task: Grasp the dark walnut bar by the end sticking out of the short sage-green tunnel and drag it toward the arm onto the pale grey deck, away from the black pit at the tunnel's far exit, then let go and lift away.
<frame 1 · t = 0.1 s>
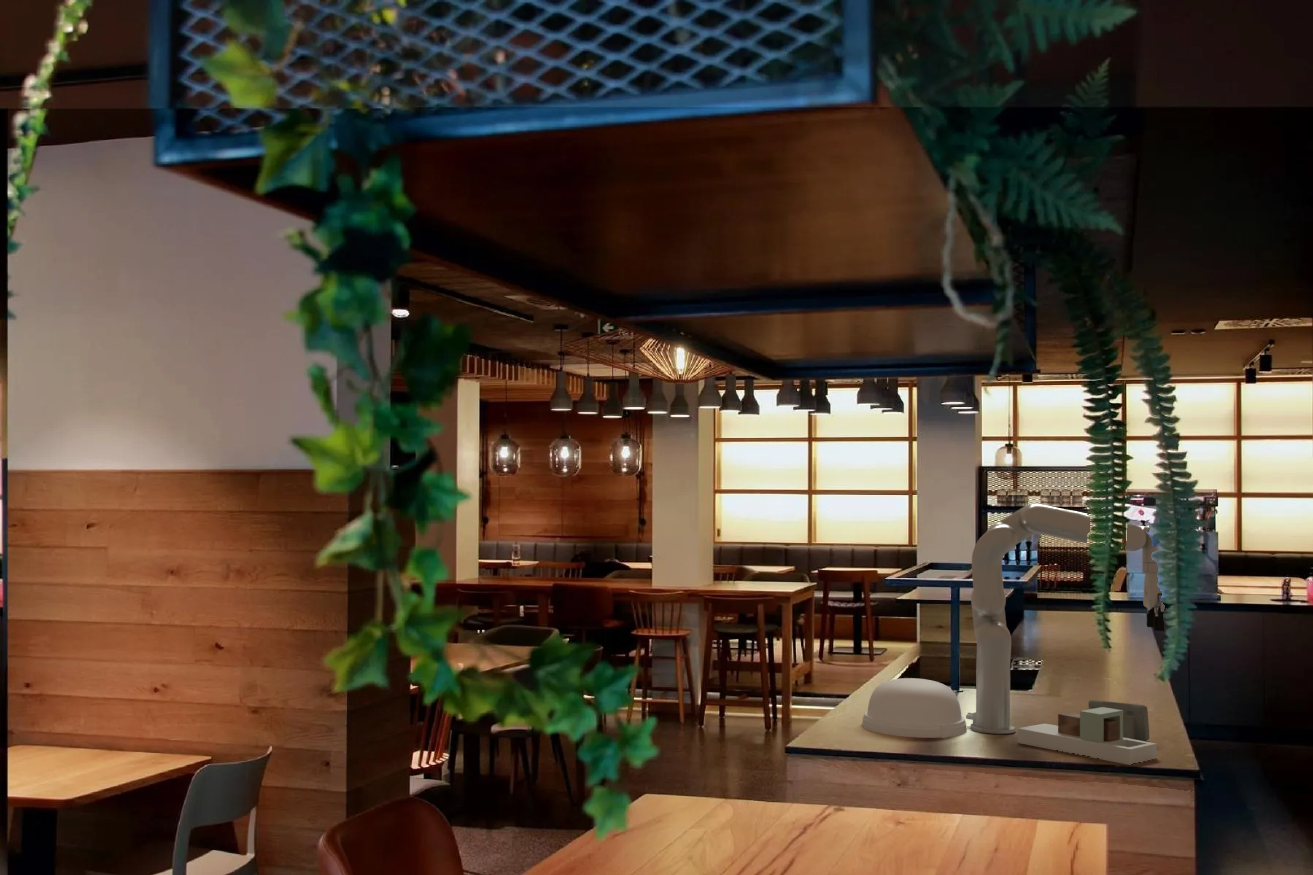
hand: (1156, 628, 353), 31 cm above the counter, tool pointing down, fingers open, 9 cm apart
dome cover: (914, 728, 363), on the counter
tunnel: (1101, 753, 330), resting on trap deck
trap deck: (1085, 750, 334), on the counter
digital clock: (1118, 739, 351), on the counter
walnut bar: (1087, 736, 334), point 4 cm above the counter, touching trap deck
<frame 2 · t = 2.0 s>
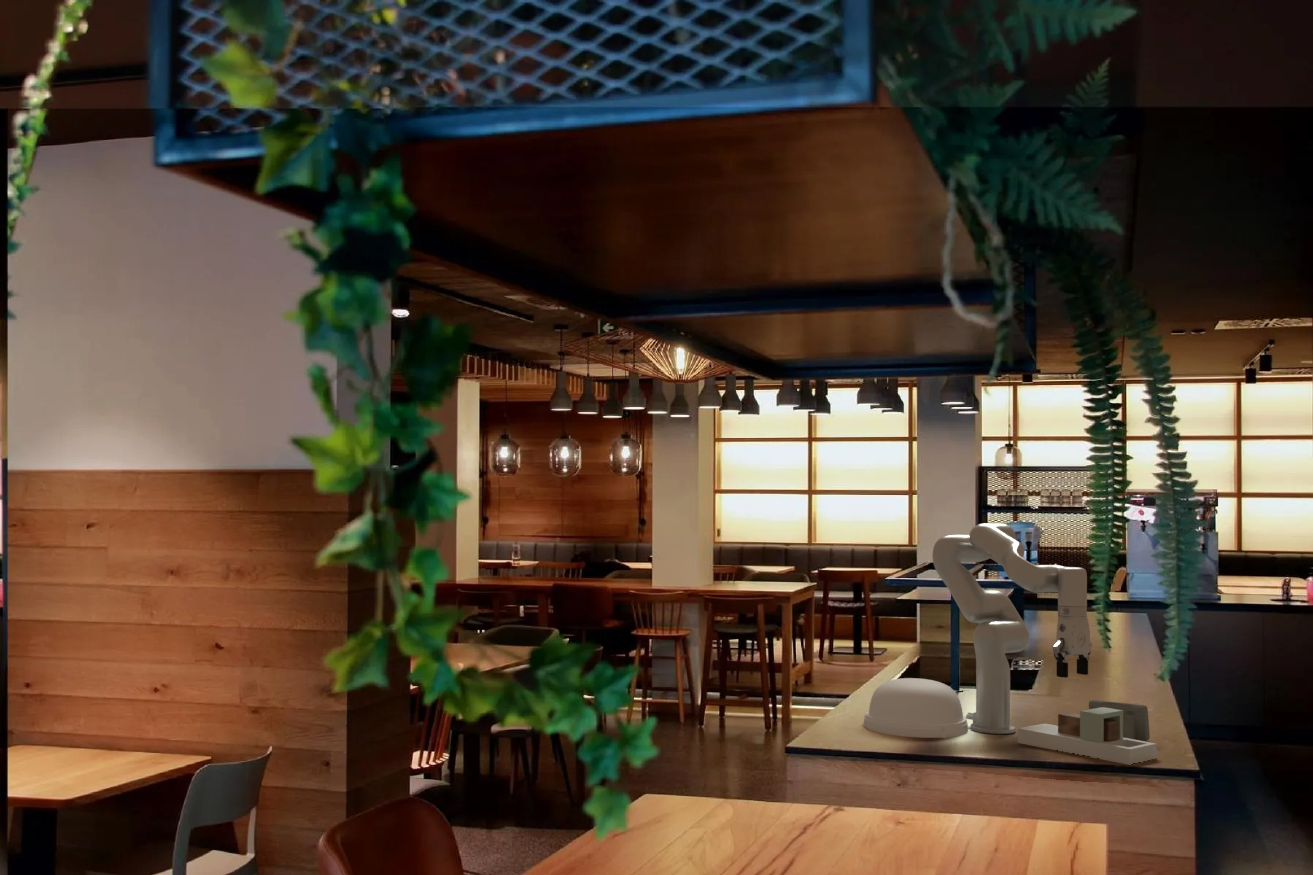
hand: (1072, 675, 338), 20 cm above the counter, tool pointing down, fingers open, 9 cm apart
nothing on the counter moved.
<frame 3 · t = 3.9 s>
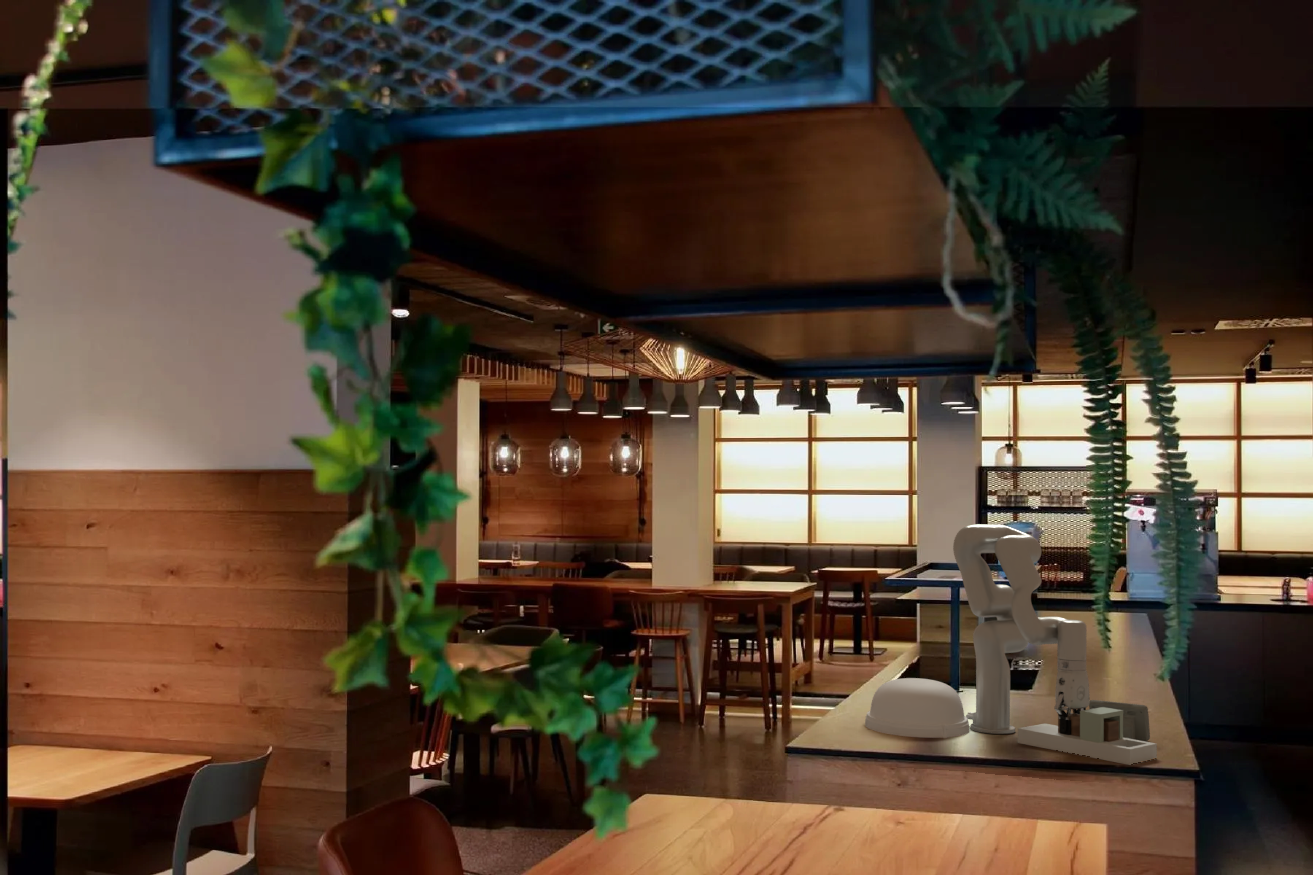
hand: (1071, 732, 337), 4 cm above the counter, tool pointing down, fingers closed on walnut bar, 5 cm apart
walnut bar: (1087, 736, 334), point 4 cm above the counter, touching gripper, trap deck
everything else where it was.
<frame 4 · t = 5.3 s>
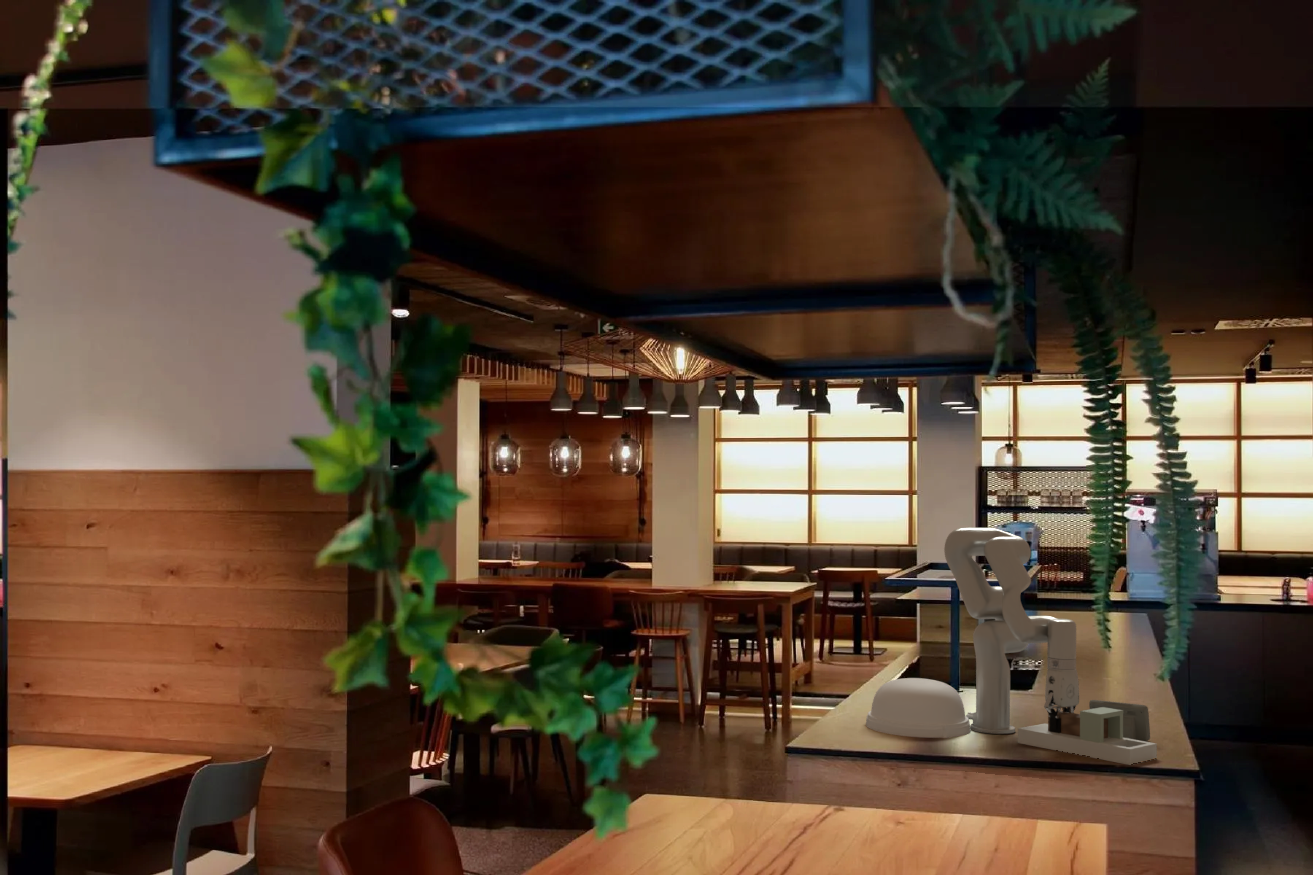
hand: (1061, 730, 340), 4 cm above the counter, tool pointing down, fingers closed on walnut bar, 5 cm apart
walnut bar: (1077, 734, 336), point 4 cm above the counter, touching gripper
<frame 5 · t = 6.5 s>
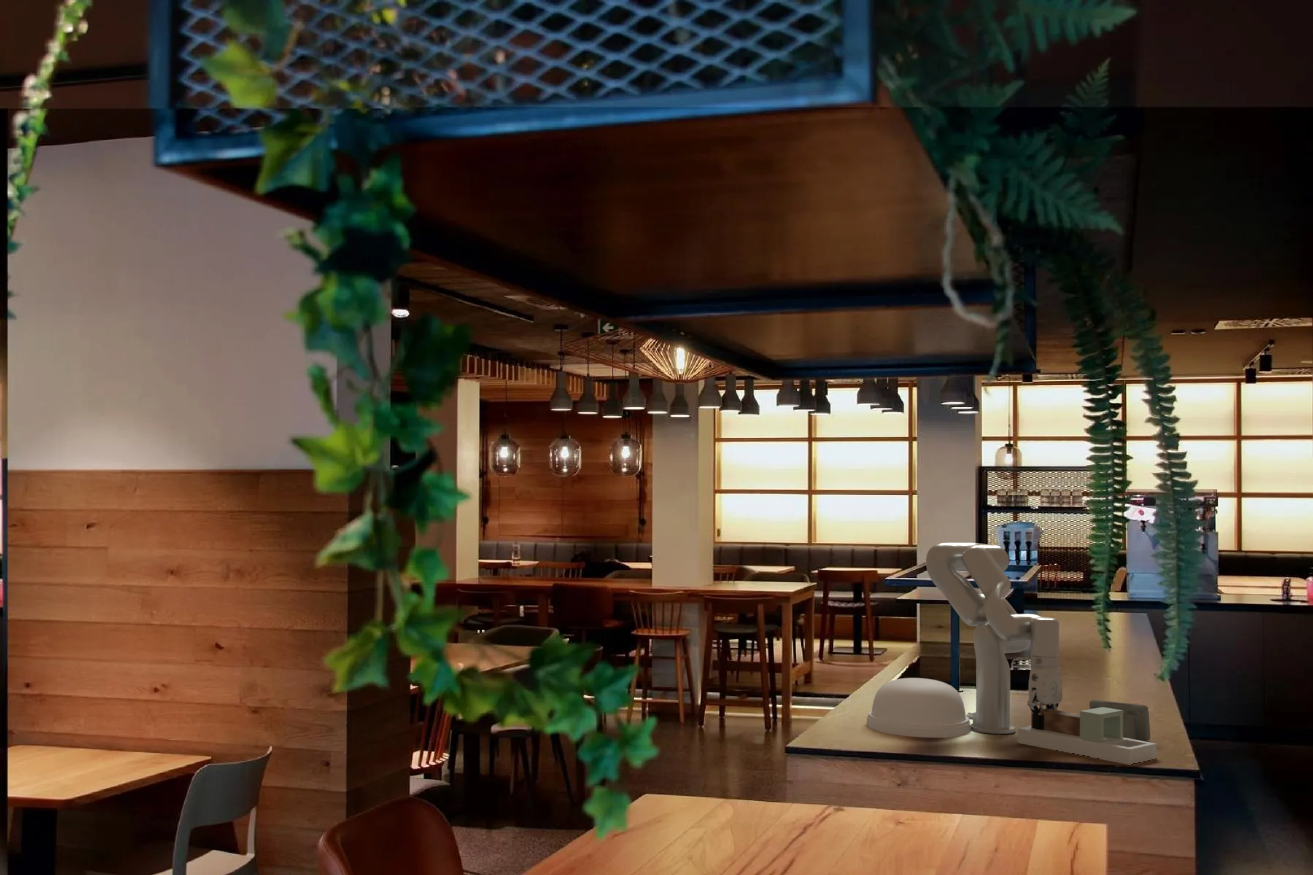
hand: (1044, 727, 344), 4 cm above the counter, tool pointing down, fingers closed on walnut bar, 5 cm apart
walnut bar: (1060, 730, 340), point 4 cm above the counter, touching gripper
when the fingers open (4 cm above the counter, at t = 7.5 s): walnut bar stays where it is, resting on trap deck.
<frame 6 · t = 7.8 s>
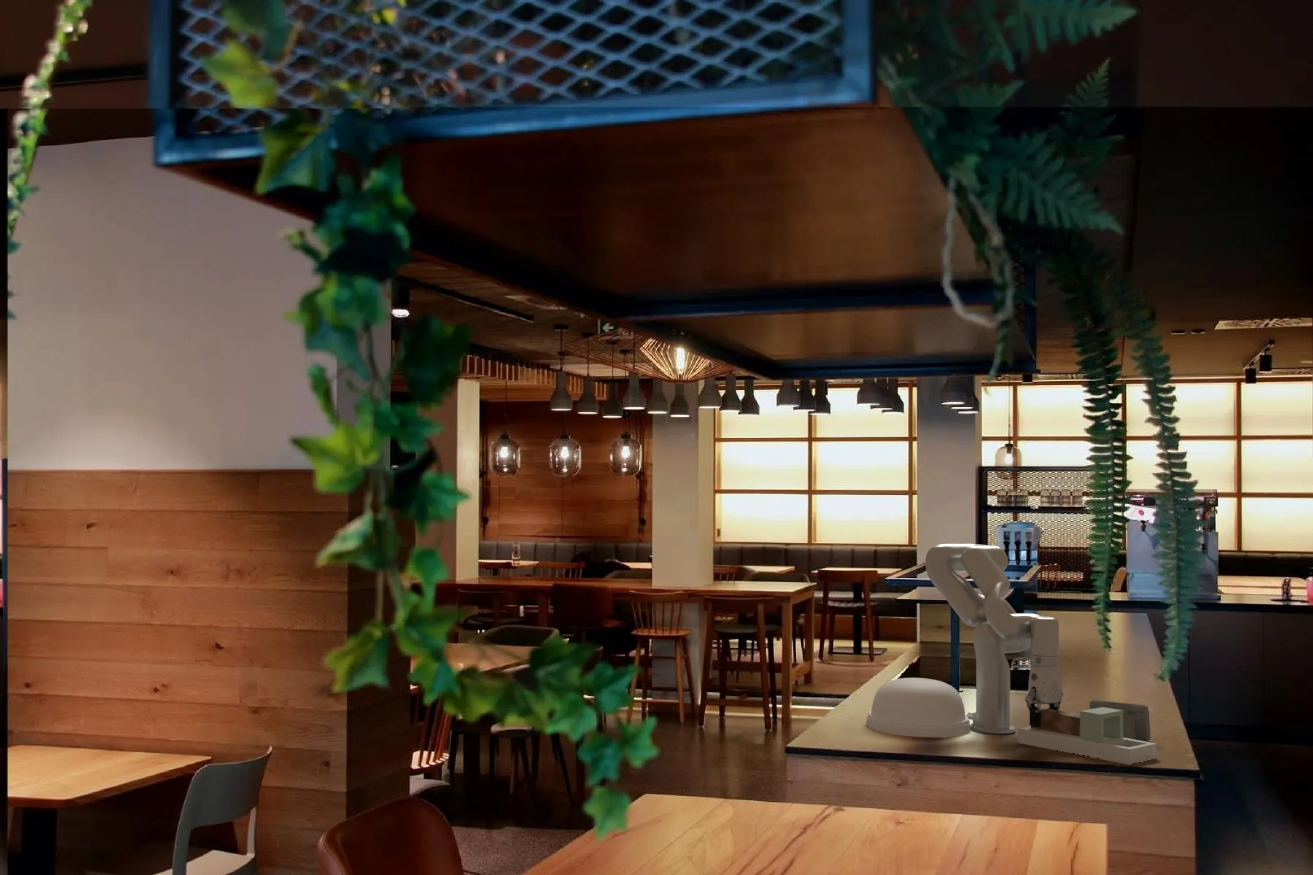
hand: (1044, 724, 344), 5 cm above the counter, tool pointing down, fingers open, 8 cm apart
walnut bar: (1059, 730, 340), point 4 cm above the counter, touching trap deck
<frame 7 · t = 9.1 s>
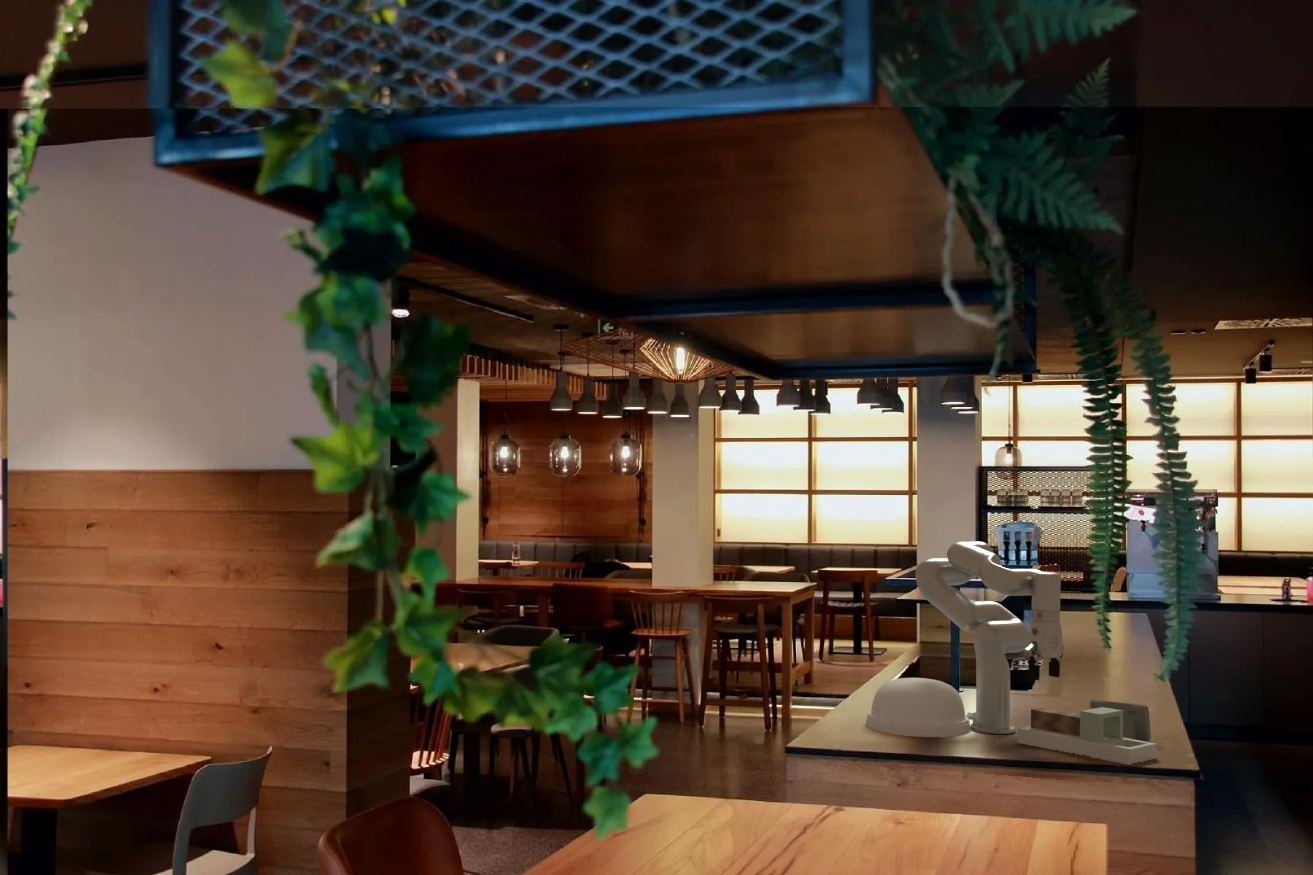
hand: (1044, 677, 345), 18 cm above the counter, tool pointing down, fingers open, 9 cm apart
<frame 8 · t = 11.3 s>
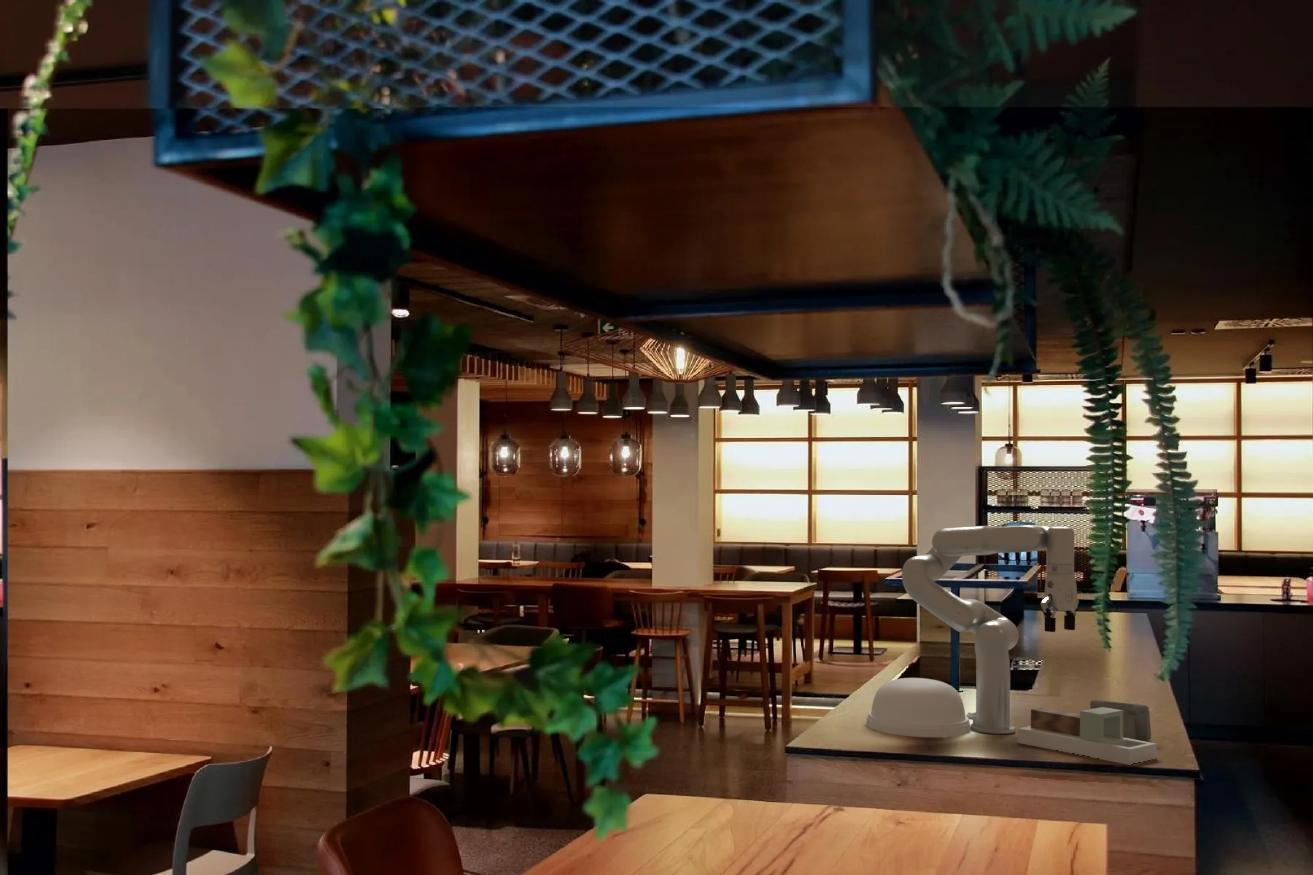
hand: (1059, 630, 352), 30 cm above the counter, tool pointing down, fingers open, 9 cm apart
at the end: walnut bar inside the target area (3.9 cm from its centre), point 4.0 cm above the counter; walnut bar tilted 0°; the gripper is holding nothing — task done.
